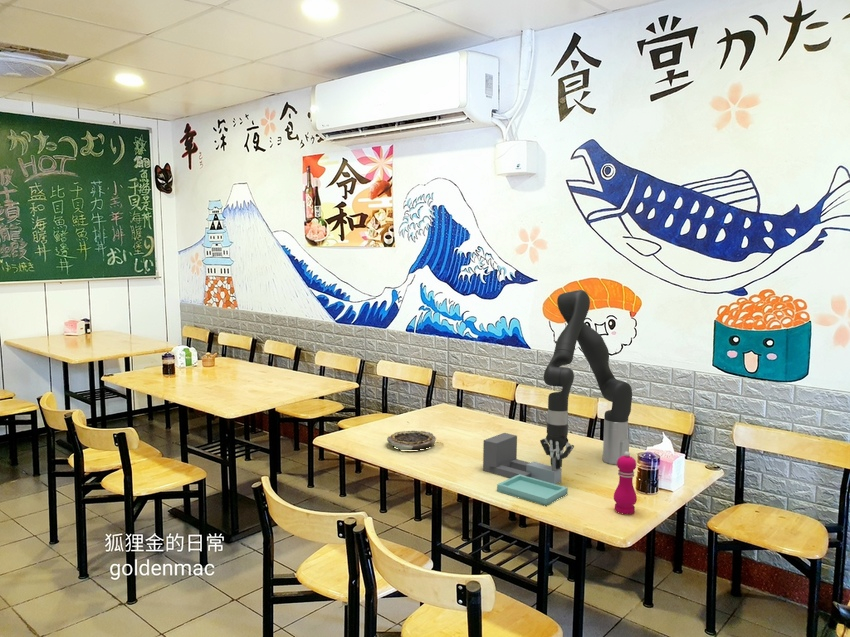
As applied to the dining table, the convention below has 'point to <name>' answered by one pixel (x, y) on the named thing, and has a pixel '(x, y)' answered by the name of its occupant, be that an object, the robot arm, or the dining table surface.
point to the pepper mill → (625, 485)
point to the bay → (503, 456)
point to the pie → (412, 440)
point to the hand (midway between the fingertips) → (556, 467)
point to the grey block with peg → (545, 471)
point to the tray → (532, 489)
